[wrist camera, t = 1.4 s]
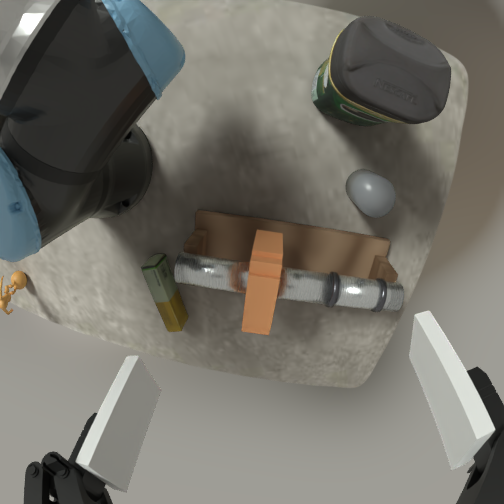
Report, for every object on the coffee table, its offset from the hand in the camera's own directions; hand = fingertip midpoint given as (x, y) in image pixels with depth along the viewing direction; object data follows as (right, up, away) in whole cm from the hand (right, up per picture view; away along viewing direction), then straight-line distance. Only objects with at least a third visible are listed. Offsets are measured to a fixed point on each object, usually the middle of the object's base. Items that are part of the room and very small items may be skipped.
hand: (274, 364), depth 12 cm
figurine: (-50, 0, +36) cm, 61 cm away
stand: (+4, +5, +28) cm, 29 cm away
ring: (+1, +4, +25) cm, 25 cm away
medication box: (-14, -1, +33) cm, 36 cm away
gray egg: (+14, +14, +23) cm, 30 cm away
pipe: (+4, +2, +22) cm, 23 cm away
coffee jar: (+11, +25, +19) cm, 33 cm away
